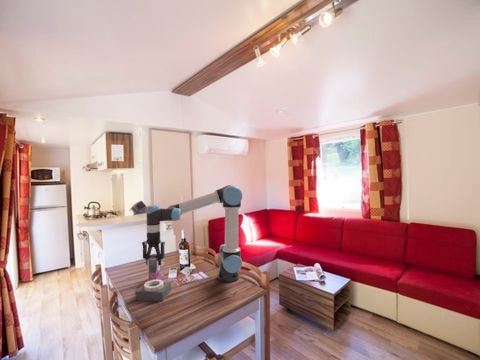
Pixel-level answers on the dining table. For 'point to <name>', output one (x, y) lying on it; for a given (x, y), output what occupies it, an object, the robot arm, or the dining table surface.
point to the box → (157, 273)
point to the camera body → (153, 291)
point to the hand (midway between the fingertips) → (153, 270)
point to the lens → (153, 263)
